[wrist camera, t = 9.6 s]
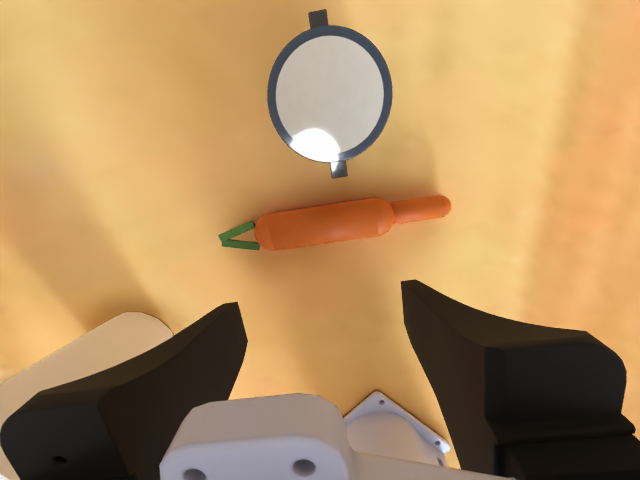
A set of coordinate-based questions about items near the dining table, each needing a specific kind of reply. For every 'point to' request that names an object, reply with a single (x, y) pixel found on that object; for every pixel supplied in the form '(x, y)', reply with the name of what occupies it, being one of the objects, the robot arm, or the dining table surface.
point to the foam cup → (81, 363)
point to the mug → (329, 93)
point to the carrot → (334, 222)
